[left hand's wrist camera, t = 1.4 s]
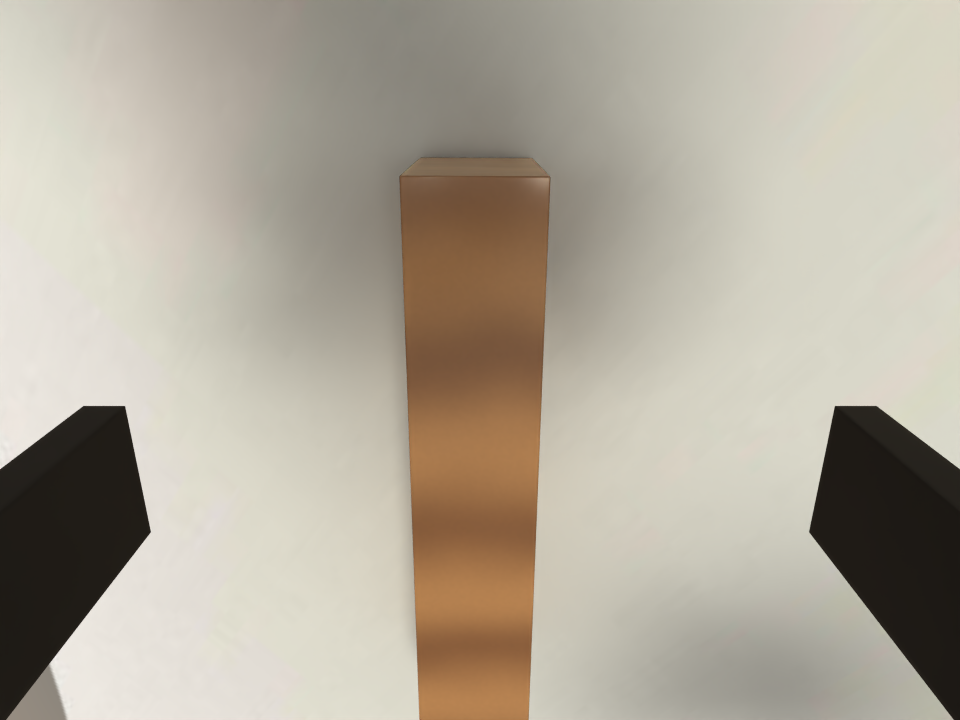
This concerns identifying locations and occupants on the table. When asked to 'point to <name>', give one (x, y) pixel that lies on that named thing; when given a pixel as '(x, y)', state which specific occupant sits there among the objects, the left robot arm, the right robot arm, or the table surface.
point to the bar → (474, 424)
